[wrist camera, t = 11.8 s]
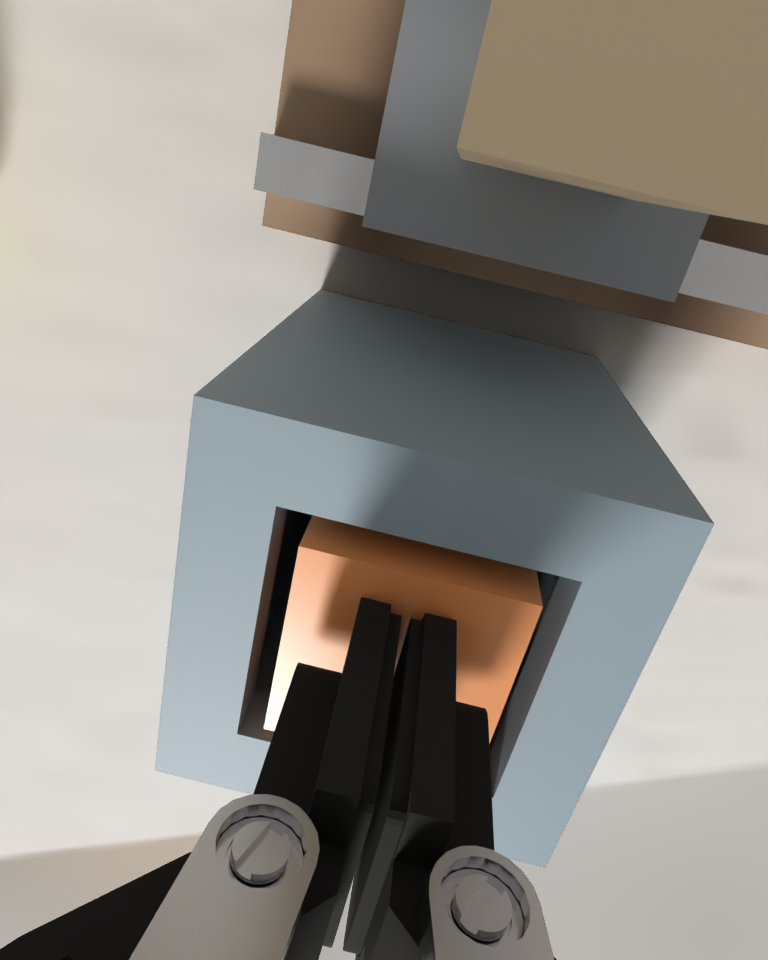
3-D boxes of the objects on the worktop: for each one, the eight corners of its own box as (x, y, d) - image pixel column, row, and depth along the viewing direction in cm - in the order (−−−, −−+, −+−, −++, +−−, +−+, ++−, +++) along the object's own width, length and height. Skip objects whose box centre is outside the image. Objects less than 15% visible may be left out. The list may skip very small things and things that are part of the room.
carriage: (755, -40, 13) (1430, -525, 4) (637, 279, 16) (881, 434, 6) (446, -114, 13) (406, -765, 4) (380, 216, 16) (261, 282, 6)
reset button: (527, 519, 14) (543, 606, 11) (473, 672, 15) (474, 781, 13) (331, 470, 14) (298, 545, 11) (299, 629, 15) (263, 729, 13)
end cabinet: (611, 360, 19) (739, 530, 10) (525, 591, 23) (565, 872, 14) (320, 289, 19) (193, 395, 10) (278, 530, 23) (154, 770, 14)
